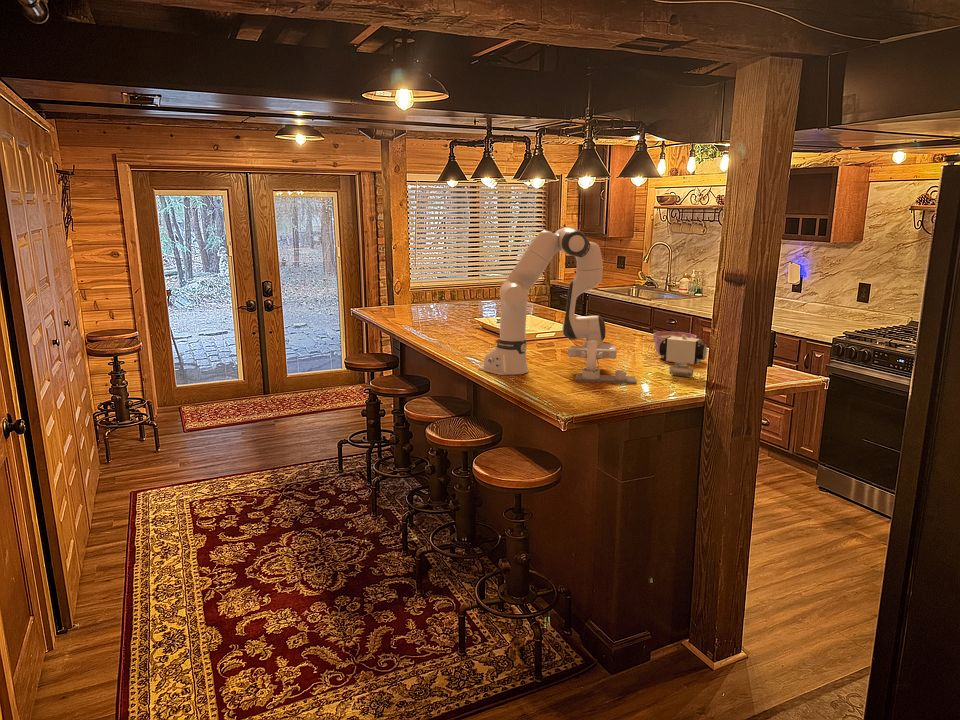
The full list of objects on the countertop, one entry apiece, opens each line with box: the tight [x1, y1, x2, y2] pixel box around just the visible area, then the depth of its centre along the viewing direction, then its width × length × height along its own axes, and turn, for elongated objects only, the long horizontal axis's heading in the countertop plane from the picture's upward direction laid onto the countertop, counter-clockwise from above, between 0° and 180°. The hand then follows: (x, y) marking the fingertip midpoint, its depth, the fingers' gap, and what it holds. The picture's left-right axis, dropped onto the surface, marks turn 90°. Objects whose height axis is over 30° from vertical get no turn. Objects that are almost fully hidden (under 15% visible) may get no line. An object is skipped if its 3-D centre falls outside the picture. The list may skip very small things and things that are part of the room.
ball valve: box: [659, 335, 708, 378], centre depth 280 cm, size 18×8×18 cm, turn 59°
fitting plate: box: [575, 368, 637, 385], centre depth 273 cm, size 24×9×4 cm, turn 79°
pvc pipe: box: [585, 341, 598, 372], centre depth 273 cm, size 4×4×14 cm
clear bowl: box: [652, 331, 698, 358], centre depth 314 cm, size 20×20×12 cm
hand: (591, 356), depth 272 cm, fingers closed on pvc pipe, 4 cm apart
